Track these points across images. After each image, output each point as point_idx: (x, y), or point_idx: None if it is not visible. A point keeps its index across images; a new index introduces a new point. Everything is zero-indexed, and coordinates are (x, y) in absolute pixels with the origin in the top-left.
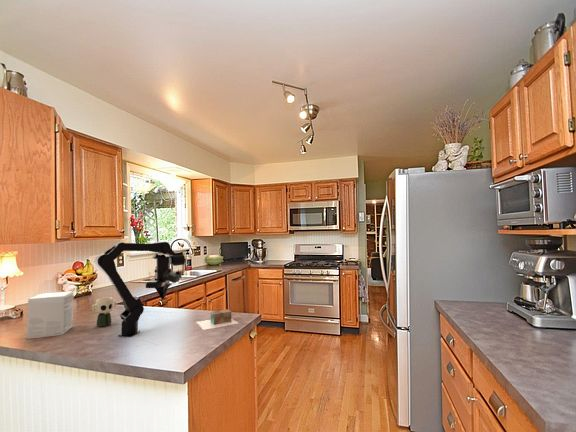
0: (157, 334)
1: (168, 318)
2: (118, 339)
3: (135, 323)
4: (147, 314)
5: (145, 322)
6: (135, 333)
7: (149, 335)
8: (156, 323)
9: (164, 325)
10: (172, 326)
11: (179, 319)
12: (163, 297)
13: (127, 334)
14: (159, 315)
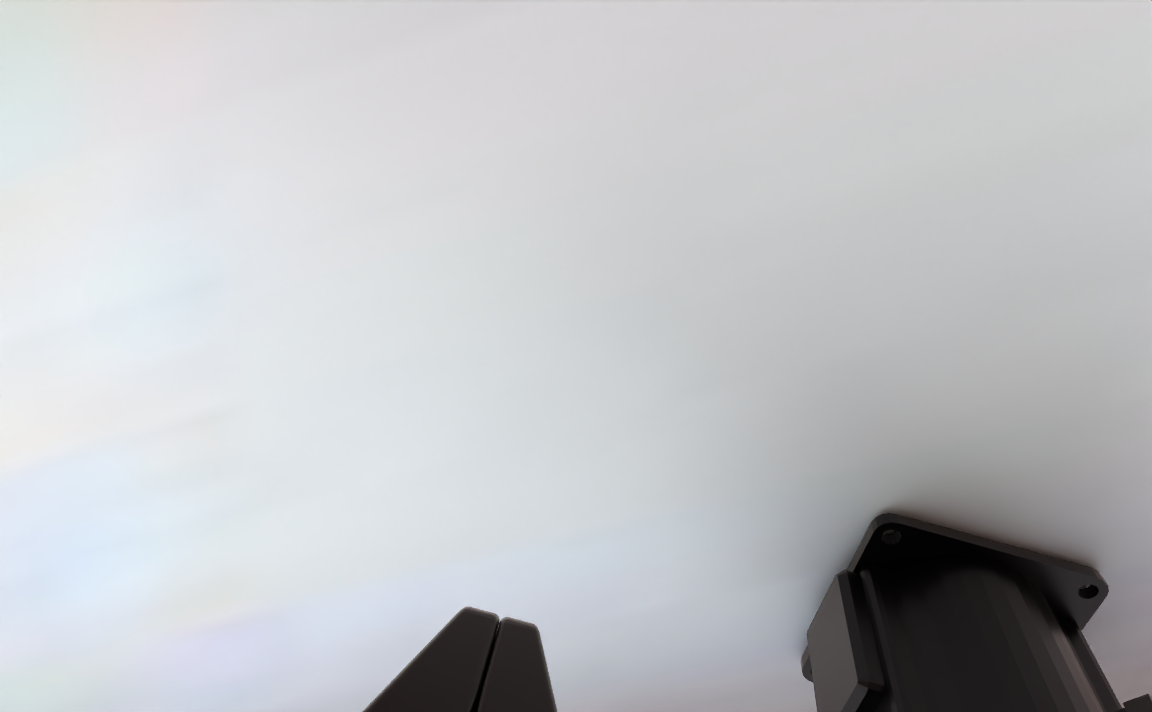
0: (1143, 189)
1: (151, 288)
2: (1148, 681)
3: (1043, 684)
4: (12, 636)
5: (381, 567)
6: (1011, 552)
7: (1143, 320)
8: (439, 403)
9: (570, 231)
10: (662, 39)
11: (187, 42)
12: (548, 690)
13: (1083, 638)
14: (20, 476)
